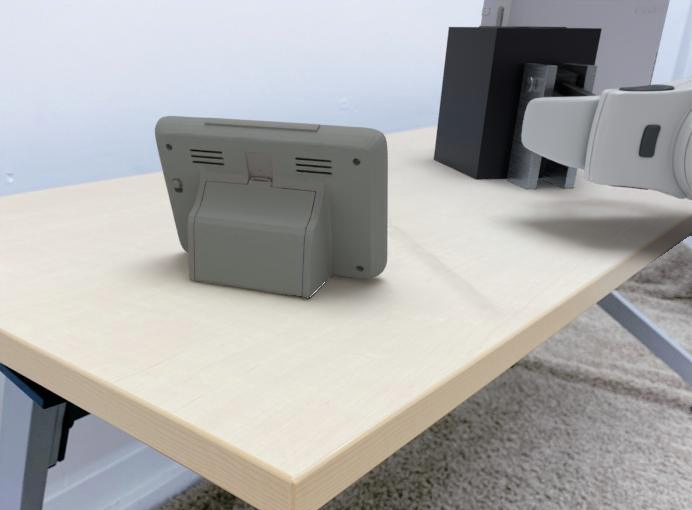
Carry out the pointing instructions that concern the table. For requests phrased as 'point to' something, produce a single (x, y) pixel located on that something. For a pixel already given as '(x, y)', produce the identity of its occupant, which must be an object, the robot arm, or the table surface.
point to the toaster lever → (568, 85)
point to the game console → (616, 35)
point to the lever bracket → (522, 160)
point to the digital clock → (276, 200)
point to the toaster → (496, 89)
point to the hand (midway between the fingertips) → (599, 113)
